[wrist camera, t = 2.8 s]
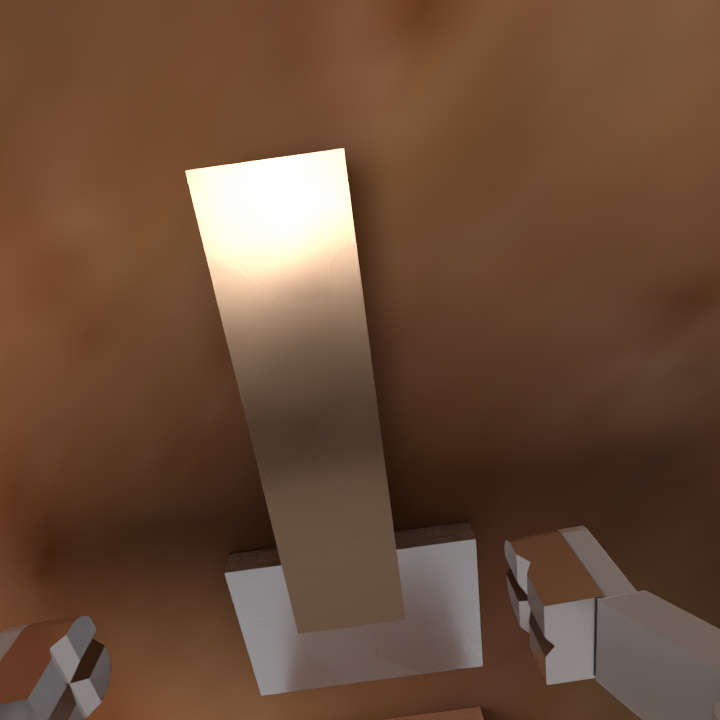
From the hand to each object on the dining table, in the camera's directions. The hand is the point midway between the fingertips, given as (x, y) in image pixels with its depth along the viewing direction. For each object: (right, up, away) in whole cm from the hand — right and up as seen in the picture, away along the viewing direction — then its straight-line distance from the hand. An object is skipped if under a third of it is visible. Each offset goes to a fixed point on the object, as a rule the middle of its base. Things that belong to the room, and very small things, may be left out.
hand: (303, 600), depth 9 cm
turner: (+1, +1, +4) cm, 4 cm away
